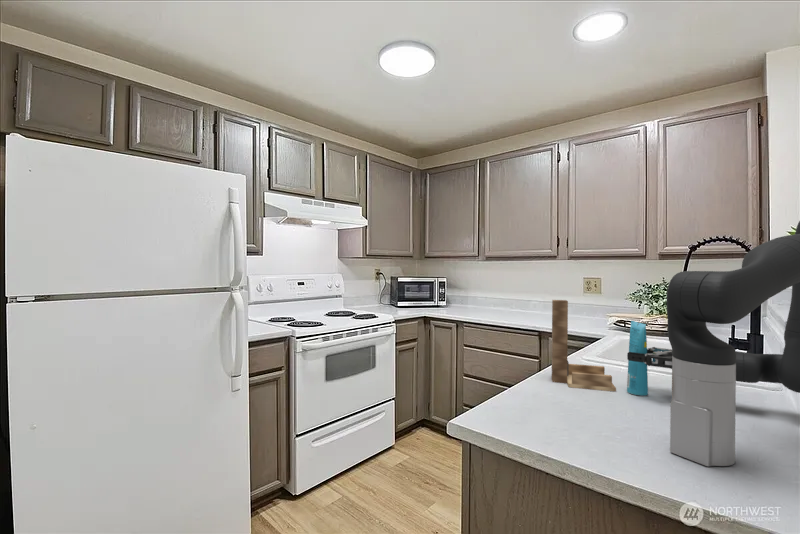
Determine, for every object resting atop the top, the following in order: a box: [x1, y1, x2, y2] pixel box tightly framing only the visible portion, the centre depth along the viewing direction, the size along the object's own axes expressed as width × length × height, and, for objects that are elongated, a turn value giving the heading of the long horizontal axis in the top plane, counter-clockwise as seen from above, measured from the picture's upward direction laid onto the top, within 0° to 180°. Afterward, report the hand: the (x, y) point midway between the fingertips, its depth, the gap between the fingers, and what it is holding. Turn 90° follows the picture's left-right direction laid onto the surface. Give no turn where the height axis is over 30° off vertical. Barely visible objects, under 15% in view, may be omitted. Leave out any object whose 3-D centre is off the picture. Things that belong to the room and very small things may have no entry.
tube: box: [626, 320, 649, 396], centre depth 108 cm, size 7×5×19 cm, turn 2°
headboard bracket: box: [551, 299, 617, 392], centre depth 117 cm, size 16×12×24 cm
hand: (629, 353), depth 109 cm, fingers open, 8 cm apart
